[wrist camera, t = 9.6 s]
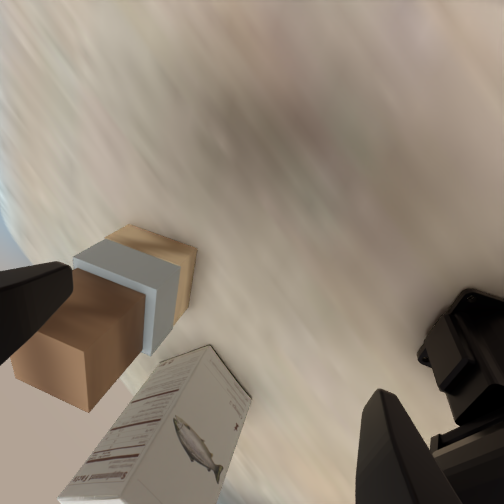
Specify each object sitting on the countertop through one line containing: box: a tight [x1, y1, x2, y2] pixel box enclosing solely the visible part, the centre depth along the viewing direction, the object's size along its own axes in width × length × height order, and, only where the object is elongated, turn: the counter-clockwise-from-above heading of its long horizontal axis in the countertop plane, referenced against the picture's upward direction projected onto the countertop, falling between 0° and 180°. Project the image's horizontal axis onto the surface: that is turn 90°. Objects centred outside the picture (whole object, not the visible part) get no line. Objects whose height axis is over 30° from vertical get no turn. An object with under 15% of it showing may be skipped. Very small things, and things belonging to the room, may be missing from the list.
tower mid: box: [73, 239, 181, 356], centre depth 21 cm, size 6×6×3 cm
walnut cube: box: [10, 268, 146, 413], centre depth 18 cm, size 5×5×5 cm
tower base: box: [105, 224, 197, 326], centre depth 24 cm, size 6×6×3 cm
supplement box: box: [57, 346, 251, 504], centre depth 24 cm, size 7×7×13 cm
